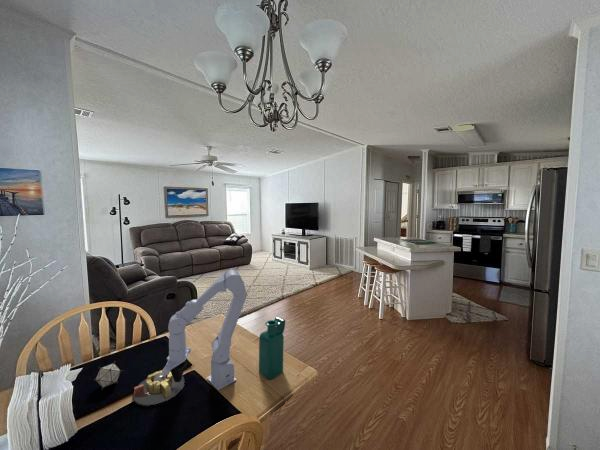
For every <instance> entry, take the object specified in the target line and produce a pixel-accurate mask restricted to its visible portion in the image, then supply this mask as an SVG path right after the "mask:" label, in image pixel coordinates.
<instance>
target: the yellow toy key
mask: <svg viewBox="0 0 600 450" xmlns="http://www.w3.org/2000/svg"><path fill="white" fill-rule="evenodd" d="M159 373H163V369H162V370H159V371H155V372H153V373H151V374H148V376H147V378H146V379H147V381H146V389H147V391H148V392H149V393H152V394H156V393H160V392H162V394H163V395H164V396H165V398H167V397H169V396H171V386H172V383H173V376H172V374H171V372H169V374H168V375H166V379H165V380H164V381H162V382H158V383H157V381H154V376H155V375H157V374H159Z"/></svg>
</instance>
